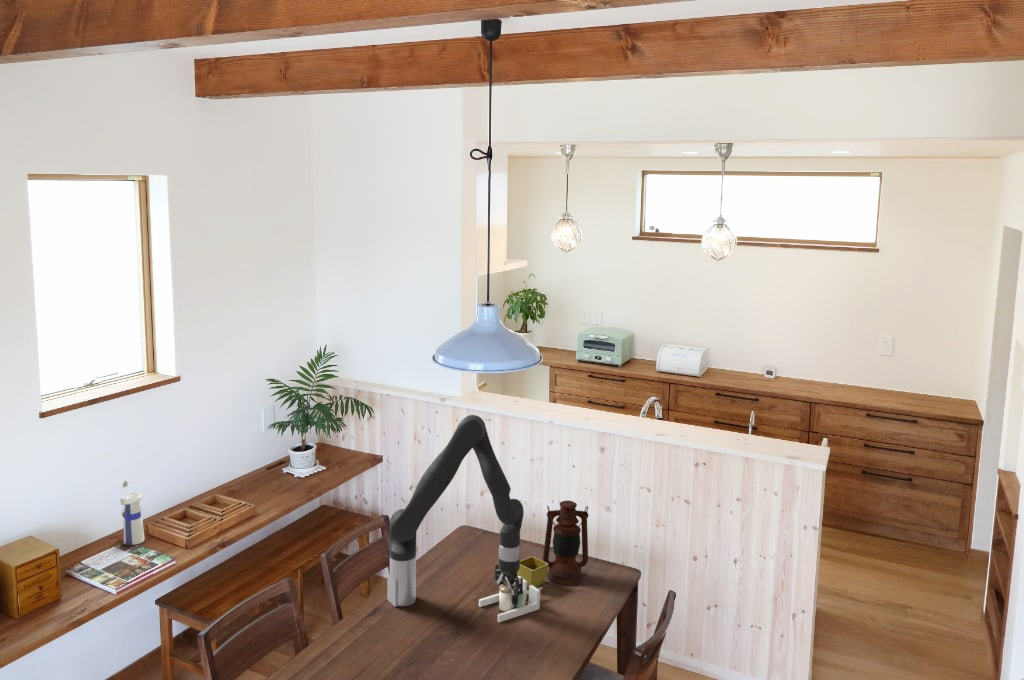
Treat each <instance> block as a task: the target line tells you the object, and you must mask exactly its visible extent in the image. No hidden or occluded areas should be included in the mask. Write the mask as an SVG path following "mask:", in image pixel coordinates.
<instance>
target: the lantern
mask: <svg viewBox="0 0 1024 680" xmlns="http://www.w3.org/2000/svg"><path fill="white" fill-rule="evenodd" d="M577 505H578V504H577V503H576V502H575V501H572V500H562V501H560V502H559V509H556V510H554V509H553V510H550V506H549V505H547V506H546V507H547V513H546V516H547V519H546V522H547V523H546V530H545V536H544V546H543V553H542V561H544V562H546V563H548V564H549V565H548V570H547V575H546V578H547V580H548V581H550V582H551V583H553V584H555V585H559V586H565V587H566V586H569V587H570V586H575V585H578V584H579V583H581V582H583V579H584V576H583V573H582V568H584V567H585V566H586V565H588V562H589V547H588V546H589V544H588V542H589V539H588V536H589V535H588V518H589V516H590V515H589V513H588V510H589V506H588V505H586V506H585V508H584V510H577V509H576V508H577ZM577 517H579V518H580V519H581V522H580V521H579V519H578V518H577ZM555 518H556V519H555ZM554 519H555V521H556V523H555V522H554ZM579 523H580V524H579ZM552 532H553V533H554V534H553V533H552ZM552 534H553V538H552ZM580 534H581V535H580ZM551 542H552V548H553V554H554V557H555V559H553V560H552V561H550V559H549V557H550V549H551ZM580 547H581V550H582V554H581V555H582V556H581V557H582V559H581V561H580V562H579V561H577V556H578V555H579V552H580Z"/></svg>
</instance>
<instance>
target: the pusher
mask: <svg viewBox="0 0 1024 680" xmlns="http://www.w3.org/2000/svg"><path fill="white" fill-rule="evenodd" d="M513 585H515V583H514V584H513ZM536 588H537V589H538V590H540V591H542V590H543V587H542V586H538V587H536ZM519 591H520V589H519ZM525 595H529V590H527V591H526V592H524V591H523V594H521V595H519V596H518V603H517V604H515V609H516V608H519V607H522V606H525V605H526V600H525Z"/></svg>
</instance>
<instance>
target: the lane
mask: <svg viewBox="0 0 1024 680" xmlns="http://www.w3.org/2000/svg"><path fill="white" fill-rule="evenodd" d="M517 576H518V575H517ZM518 578H521V577H520V576H518ZM522 579H523V578H522ZM537 588H538V587H534V586H533V585H530V586H529V588H528V587H527V581H526V580H524V579H523V591H524V592H526V591H529V594H527V595H528V604H525V606H522V607H519V608H516V607H515V609H513V610H510V611H507V612H506V611H503V612H501V613H498V614H497V622H498V623H502V622H504V621H508V620H510V619H513V618H517V617H519V616H523V615H526V614H528V613H532V612H535V611H538V610H541V609H540V605H541V603H540V602H541V590H538V589H537ZM527 589H528V590H527ZM527 595H525V601H526V600H527ZM494 603H499V593H498V592H497V593H495V594H492V595H488V596H486V597H483V598H479V599H478V607H479V608H481V607H486V606H488V605H491V604H494Z"/></svg>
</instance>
